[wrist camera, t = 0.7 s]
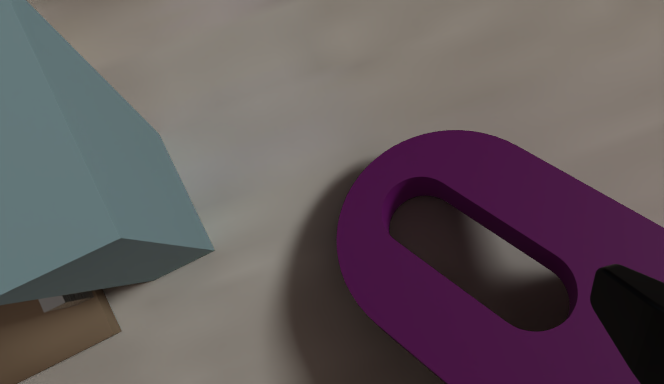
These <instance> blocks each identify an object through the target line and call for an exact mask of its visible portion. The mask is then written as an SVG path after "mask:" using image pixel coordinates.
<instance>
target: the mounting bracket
mask: <svg viewBox="0 0 664 384" xmlns="http://www.w3.org/2000/svg"><path fill="white" fill-rule="evenodd" d="M424 195H427V196H434V197H438V198H440V199H442V200H444V201H446V202H447V203H449V204H450V205H452V206H453V207H455V208H457V209H458V210H460V211H461V212H463V213H464V214H466V215H467V216H469V217H470V218H472V219H473V220H475V221H476V222H478V223H479V224H481V225H482V226H484V227H485V228H487V229H488V230H490V231H492V232H493V233H495V234H496V235H498V236H499V237H501V238H502V239H504V240H505V241H507V242H508V243H510V244H511V245H513V246H514V247H516V248H517V249H519V250H520V251H522V252H524V253H525V254H527V255H528V256H530V257H531V258H533V259H534V260H536V261H537V262H539V263H540V264H542V265H543V266H545V267H546V268H548V269H549V270H551V271H552V272H554V273H555V274H556V275H557V276H558V277H559V278H560V280H561V281H562V282H563V284H564V285H565V287H566V290H567V292H568V296H569V302H570V307H569V313H568V316H567V319H566V321H565V322H563V323H562V324H561V325H559V326H557V327H555V328H553V329H550V330H546V331H538V332H534V331H526V330H522V329H519V328H517V327H514V326H512V325H510V324H509V323H507V322H506V321H505V320H503V319H502V318H500V317H499V316H498V315H496V314H495V313H494V312H492V311H491V310H490V309H488V308H487V307H485V306H484V305H483V304H481V303H480V302H479V301H477V300H476V299H475V298H473V297H472V296H470V295H469V294H468V293H466V292H465V291H464V290H462V289H461V288H460V287H458V286H457V285H456V284H454V283H453V282H451V281H450V280H449V279H447V278H446V277H445V276H443V275H442V274H441V273H439V272H438V271H436V270H435V269H434V268H432V267H431V266H430V265H428V264H427V263H426V262H424V261H423V260H422V259H420V258H419V257H417V256H416V255H415V254H413V253H412V252H411V251H409V250H408V249H407V248H405V247H404V246H402V245H401V244H400V243H398V242H397V241H396V240H394V239H393V238H392V237H391V236H390V234H389V225H390V220H391V218H392V215H393V213H394V212H395V210H396V209H397V208H398V207H399V206H400V205H401V204H402V203H403V202H405V201H407V200H409V199H411V198H413V197H417V196H424ZM337 254H338V261H339V265H340V269H341V272H342V275H343V278H344V280H345V283H346V285H347V287H348V289H349V291H350V293H351V295H352V296H353V297H354V299H355V300H356V302H357V303H358V305H359V306H360V307H361V308H362V310H363V311H364V312H365V313H366V314H367V315H368V316H369V317H370V318H371V319H372V320H373V321H374V322H375V323H376V324H377V325H378V326H379V327H380V328H381V329H382V330H383V331H384V332H386V333H387V334H388V335H389V336H390V337H391V338H393V339H394V340H395V341H396V342H397V343H399V344H400V345H401V346H402V347H403V348H405V349H406V350H407V351H408V352H409V353H410V354H412V355H413V356H414V357H415V358H416V359H418V360H419V361H420V362H421V363H422V364H423V365H425V366H426V367H427V368H428V369H429V370H431V371H432V372H433V373H434V374H435V375H437V376H438V377H439V378H440V379H441V380H442V381H444V382H445V383H446V384H640V382H639V381H638V380H637V378H636V377H635V375H634V374H633V373H632V371H631V370H630V368H629V367H628V365H627V364H626V362H625V360H624V359H623V357H622V355H621V354H620V352H619V351H618V349H617V347H616V346H615V344H614V342H613V341H612V339H611V338H610V336H609V334H608V333H607V331H606V329H605V328H604V326H603V325H602V323H601V321H600V320H599V318H598V316H597V315H596V313H595V312H594V310H593V308H592V306H591V302H590V294H591V290H592V285H593V281H594V277H595V273H596V271H597V270H598V269H599V268H601V267H604V266H608V265H612V264H620V265H623V266H625V267H628V268H630V269H632V270H635V271H637V272H640V273H642V274H644V275H647V276H649V277H652V278H654V279H656V280H659V281H661V282H664V228H663V227H661V226H660V225H658V224H656V223H654V222H652V221H651V220H649V219H647V218H645V217H643V216H642V215H640V214H638V213H636V212H634V211H633V210H631V209H629V208H627V207H626V206H624V205H622V204H620V203H618V202H617V201H615V200H613V199H611V198H609V197H608V196H606V195H604V194H602V193H600V192H599V191H597V190H595V189H593V188H592V187H590V186H588V185H586V184H584V183H583V182H581V181H579V180H577V179H575V178H574V177H572V176H570V175H568V174H567V173H565V172H563V171H561V170H559V169H558V168H556V167H554V166H552V165H550V164H549V163H547V162H545V161H543V160H541V159H540V158H538V157H536V156H534V155H533V154H531V153H529V152H527V151H525V150H524V149H522V148H520V147H518V146H516V145H514V144H512V143H510V142H508V141H506V140H503V139H501V138H498V137H496V136H492V135H488V134H485V133H479V132H474V131H463V130H447V131H438V132H432V133H427V134H423V135H419V136H416V137H413V138H411V139H408V140H406V141H403V142H401V143H399V144H397V145H395V146H393V147H392V148H390V149H389V150H387V151H385V152H384V153H382V154H381V155H380V156H379V157H377V158H376V159H375V160H374V161H373V162H372V163H371V164H370V165H368V166H367V167H366V168H365V170H364V171H363V172H362V173H361V174H360V175H359V177H358V178H357V180H356V181H355V182H354V184H353V185H352V187H351V189H350V191H349V193H348V194H347V196H346V199H345V201H344V204H343V206H342V209H341V213H340V216H339V221H338V227H337Z"/></svg>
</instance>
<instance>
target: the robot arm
mask: <svg viewBox="0 0 664 384" xmlns="http://www.w3.org/2000/svg"><path fill="white" fill-rule="evenodd" d="M590 302H591V306H592V308H593V310H594V312H595V313H596V315H597V316H598V318H599V320H600V321H601V323H602V325H603V326H604V328H605V329H606V331H607V333H608V334H609V336H610V338H611V339H612V341H613V342H614V344H615V346H616V347H617V349H618V351H619V352H620V354H621V355H622V357H623V359H624V360H625V362H626V364H627V365H628V367H629V368H630V370H631V371H632V373H633V374H634V375H635V377H636V378H637V380H638V381H639V382H640V384H664V282H661V281H659V280H656V279H654V278H652V277H649V276H647V275H644V274H642V273H640V272H637V271H635V270H632V269H630V268H628V267H625V266H623V265H620V264H612V265H608V266H604V267H601V268H599V269H598V270H597V271H596V273H595V277H594V281H593V285H592V290H591V294H590Z"/></svg>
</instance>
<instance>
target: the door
mask: <svg viewBox="0 0 664 384" xmlns="http://www.w3.org/2000/svg"><path fill="white" fill-rule="evenodd" d="M213 251H215V250H214V248H213V246H212V244H211V242H210V239H209V237H208V235H207V233H206V231H205V229H204V227H203V225H202V223H201V221H200V219H199V216H198V214H197V212H196V210H195V208H194V206H193V204H192V202H191V200H190V198H189V196H188V194H187V191H186V189H185V187H184V185H183V183H182V181H181V179H180V177H179V175H178V173H177V171H176V169H175V166H174V164H173V162H172V160H171V158H170V156H169V154H168V152H167V150H166V148H165V146H164V144H163V141H162V139H161V137H160V135H159V134H158V133H157V132H156V131H155V129H154V128H153V127H152V126H151V125H150V124H149V123H148V122H147V121H146V120H145V119H144V118H143V117H142V116H141V115H140V114H139V113H138V112H137V111H136V110H135V109H134V108H133V107H132V106H131V105H130V104H129V103H128V102H127V101H126V100H125V99H124V98H123V97H122V96H121V95H120V94H119V93H118V92H117V91H116V90H115V89H114V88H113V87H112V86H111V85H110V84H109V83H108V82H107V81H106V80H105V79H104V78H103V77H102V76H101V75H100V74H99V73H98V72H97V71H96V70H95V69H94V68H93V67H92V66H91V65H90V64H89V63H88V62H87V61H86V60H85V59H84V58H83V57H82V56H81V55H80V54H79V53H78V52H77V51H76V50H75V49H74V48H73V47H72V46H71V45H70V44H69V43H68V42H67V41H66V40H65V39H64V38H63V37H62V36H61V35H60V34H59V33H58V32H57V31H56V30H55V29H54V28H53V27H52V26H51V25H50V24H49V23H48V22H47V21H46V20H45V19H44V18H43V17H42V16H41V15H40V14H39V13H38V12H37V11H36V10H35V9H34V8H33V7H32V6H31V5H30V4H29V3H28V2H27V1H26V0H0V305H5V304H11V303H18V302H24V301H30V300H36V299H42V298H49V297H55V296H61V295H67V294H74V293H80V292H86V291H92V290H98V289H105V288H111V287H117V286H123V285H129V284H136V283H142V282H148V281H153V280H156V279H158V278H160V277H162V276H164V275H166V274H168V273H170V272H172V271H174V270H176V269H178V268H180V267H182V266H184V265H186V264H188V263H190V262H192V261H194V260H196V259H198V258H200V257H202V256H204V255H207V254H209V253H211V252H213Z"/></svg>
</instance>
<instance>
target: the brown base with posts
mask: <svg viewBox="0 0 664 384" xmlns="http://www.w3.org/2000/svg"><path fill="white" fill-rule="evenodd" d="M119 332H121V329H120V327H119V325H118V323H117V320H116V318H115V316H114V314H113V312H112V310H111V307H110V305H109V303H108V301H107V299H106V296H105V294H104V292H103V290H102V289H98V290H92V291H86V292H80V293H74V294H67V295H61V296H55V297H49V298H42V299H36V300H30V301H24V302H18V303H11V304H5V305H0V384H17V383H19V382H21V381H23V380H25V379H27V378H29V377H31V376H33V375H35V374H37V373H39V372H41V371H43V370H45V369H47V368H49V367H51V366H53V365H55V364H57V363H59V362H61V361H63V360H65V359H67V358H69V357H71V356H73V355H75V354H77V353H79V352H81V351H83V350H85V349H87V348H89V347H91V346H93V345H95V344H97V343H99V342H101V341H103V340H105V339H107V338H109V337H111V336H113V335H115V334H117V333H119Z"/></svg>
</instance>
